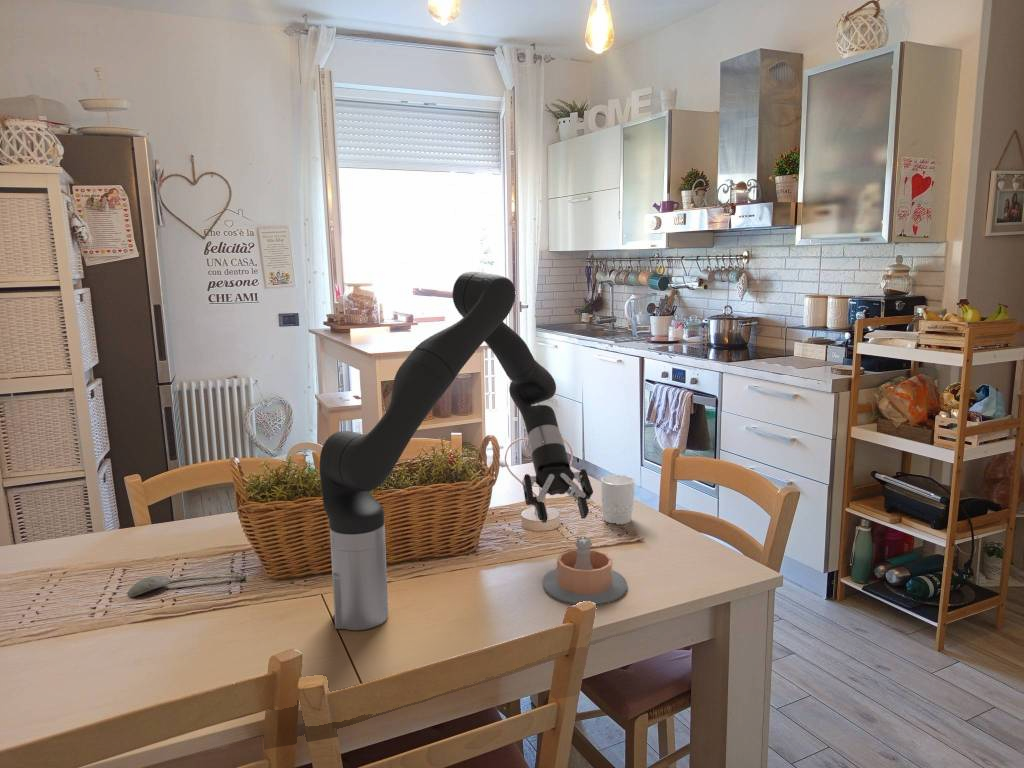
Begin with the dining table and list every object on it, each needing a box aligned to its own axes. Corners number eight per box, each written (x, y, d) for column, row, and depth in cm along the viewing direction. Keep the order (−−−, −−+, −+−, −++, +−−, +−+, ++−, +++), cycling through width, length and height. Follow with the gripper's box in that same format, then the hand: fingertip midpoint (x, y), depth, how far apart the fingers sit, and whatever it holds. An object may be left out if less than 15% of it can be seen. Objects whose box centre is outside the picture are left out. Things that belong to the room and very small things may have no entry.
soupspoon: (132, 589, 142) (122, 606, 136) (129, 573, 141) (120, 590, 135) (250, 573, 147) (246, 589, 140) (248, 558, 146) (244, 573, 140)
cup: (558, 610, 129) (558, 582, 128) (532, 573, 145) (532, 548, 144) (640, 599, 133) (641, 571, 132) (607, 564, 149) (607, 539, 148)
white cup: (633, 526, 169) (634, 485, 167) (599, 524, 171) (599, 483, 169) (634, 515, 177) (635, 475, 175) (601, 513, 178) (602, 473, 176)
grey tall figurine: (588, 585, 136) (588, 545, 134) (567, 580, 138) (567, 540, 137) (598, 576, 140) (599, 537, 138) (578, 571, 142) (578, 532, 141)
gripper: (519, 444, 152) (535, 514, 144) (583, 439, 156) (602, 507, 147) (513, 461, 158) (528, 530, 150) (574, 456, 162) (592, 523, 153)
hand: (565, 519), depth 148 cm, fingers open, 8 cm apart
